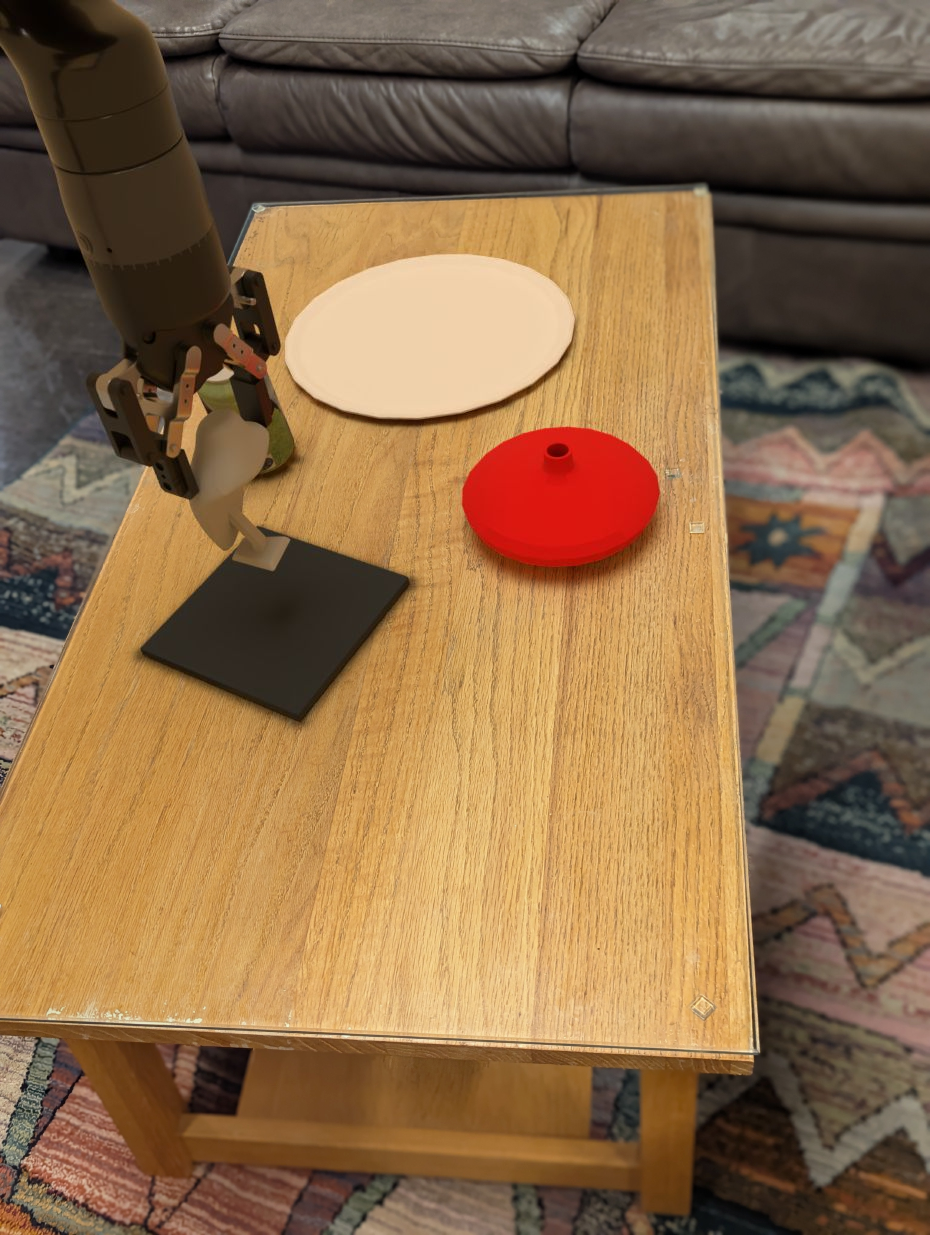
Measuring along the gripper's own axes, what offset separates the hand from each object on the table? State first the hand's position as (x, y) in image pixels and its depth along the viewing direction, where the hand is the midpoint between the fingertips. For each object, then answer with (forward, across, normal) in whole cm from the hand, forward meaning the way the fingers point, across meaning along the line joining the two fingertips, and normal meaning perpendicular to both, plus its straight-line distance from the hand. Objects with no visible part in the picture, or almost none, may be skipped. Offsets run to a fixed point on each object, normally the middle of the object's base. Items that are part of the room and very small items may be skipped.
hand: (222, 457), depth 72 cm
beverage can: (+16, +15, +13) cm, 26 cm away
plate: (+16, +38, +9) cm, 42 cm away
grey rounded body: (+9, 0, 0) cm, 9 cm away
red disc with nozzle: (+16, +19, -15) cm, 29 cm away
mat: (+16, 0, 0) cm, 16 cm away
